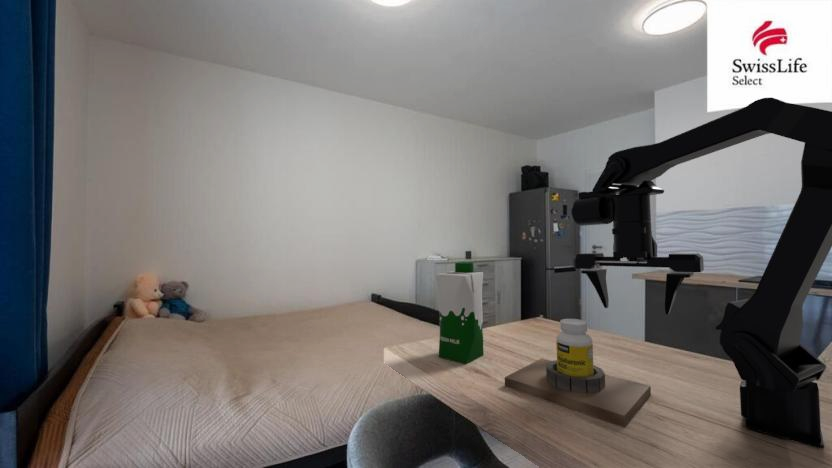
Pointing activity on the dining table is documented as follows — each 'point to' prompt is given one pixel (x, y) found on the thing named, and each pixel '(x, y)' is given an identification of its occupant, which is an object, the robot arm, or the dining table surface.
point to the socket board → (585, 403)
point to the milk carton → (460, 313)
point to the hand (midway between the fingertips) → (635, 310)
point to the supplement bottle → (574, 349)
